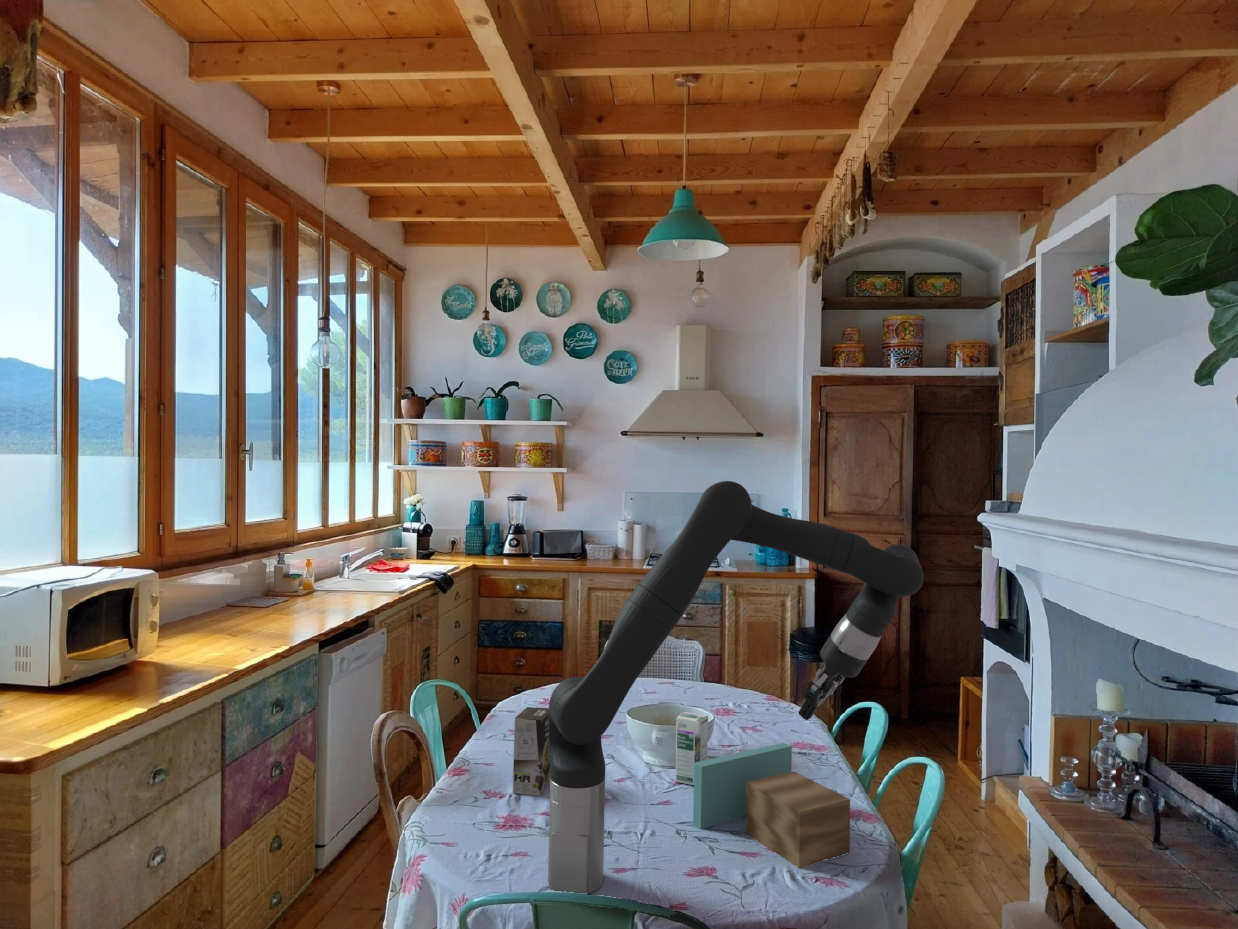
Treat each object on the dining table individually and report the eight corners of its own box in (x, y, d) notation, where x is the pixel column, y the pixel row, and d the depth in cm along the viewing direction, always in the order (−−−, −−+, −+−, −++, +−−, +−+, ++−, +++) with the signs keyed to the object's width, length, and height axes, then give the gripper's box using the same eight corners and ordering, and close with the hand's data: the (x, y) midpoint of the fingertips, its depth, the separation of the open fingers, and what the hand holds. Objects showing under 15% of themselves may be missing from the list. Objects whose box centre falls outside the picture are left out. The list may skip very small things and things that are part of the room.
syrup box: (674, 782, 173) (675, 717, 174) (684, 773, 179) (685, 710, 179) (698, 787, 171) (699, 721, 171) (707, 778, 176) (708, 714, 176)
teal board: (790, 803, 163) (791, 746, 163) (700, 829, 150) (701, 766, 150) (782, 799, 165) (783, 742, 165) (693, 824, 152) (694, 762, 152)
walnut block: (849, 854, 142) (850, 799, 142) (799, 869, 136) (799, 811, 136) (793, 822, 155) (794, 771, 155) (745, 834, 149) (746, 781, 149)
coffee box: (540, 796, 164) (542, 720, 164) (511, 793, 165) (513, 717, 166) (552, 780, 173) (554, 707, 173) (525, 777, 174) (526, 705, 175)
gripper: (847, 624, 146) (802, 693, 152) (819, 638, 135) (772, 712, 141) (881, 650, 142) (834, 720, 148) (855, 666, 132) (805, 741, 137)
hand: (803, 716), depth 145 cm, fingers closed
